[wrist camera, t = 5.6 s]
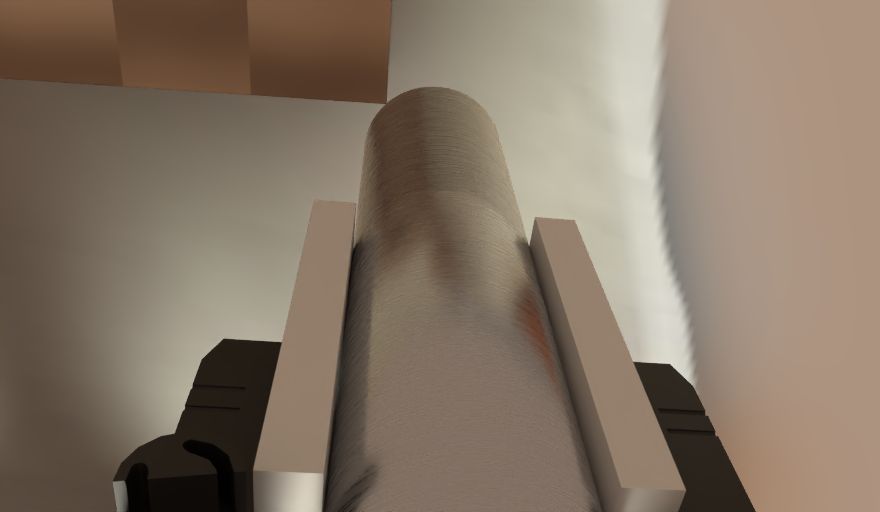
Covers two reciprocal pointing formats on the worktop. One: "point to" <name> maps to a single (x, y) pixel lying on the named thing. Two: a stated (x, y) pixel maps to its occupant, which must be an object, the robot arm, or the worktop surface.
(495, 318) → the steel pin
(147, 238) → the worktop surface
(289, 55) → the wooden block with hole
